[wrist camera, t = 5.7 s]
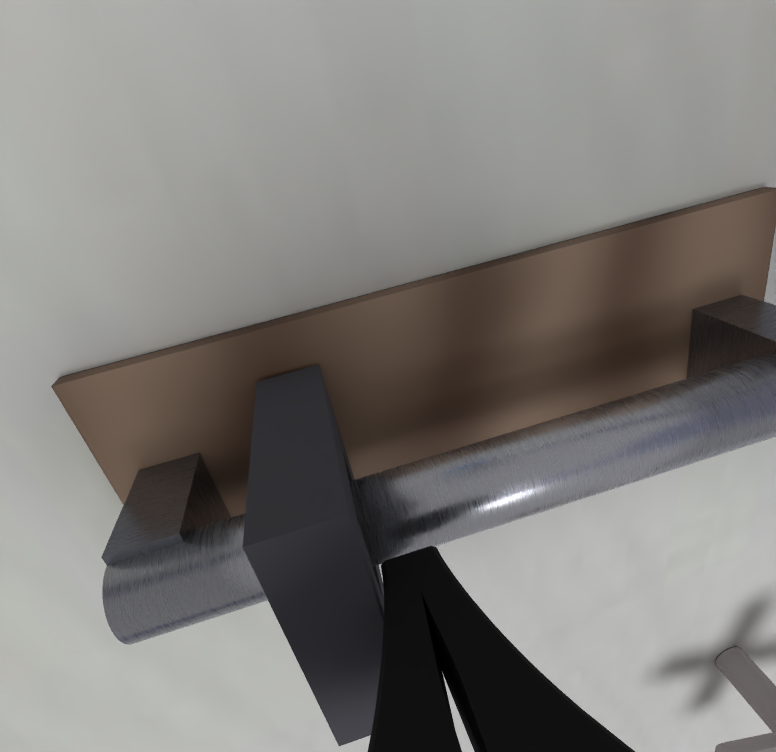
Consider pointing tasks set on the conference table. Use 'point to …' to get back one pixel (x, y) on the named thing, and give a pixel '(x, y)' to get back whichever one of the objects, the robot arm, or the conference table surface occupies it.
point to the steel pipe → (450, 479)
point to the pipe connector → (750, 699)
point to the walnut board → (440, 350)
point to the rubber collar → (314, 548)
